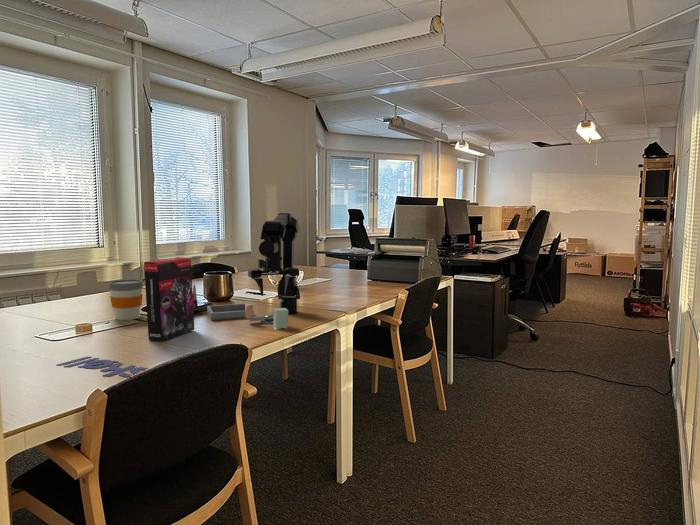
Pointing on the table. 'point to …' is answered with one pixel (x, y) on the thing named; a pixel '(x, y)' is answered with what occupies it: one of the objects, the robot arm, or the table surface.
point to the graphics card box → (169, 298)
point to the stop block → (280, 318)
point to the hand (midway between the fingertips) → (274, 294)
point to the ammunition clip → (194, 297)
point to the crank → (250, 315)
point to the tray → (226, 311)
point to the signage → (104, 363)
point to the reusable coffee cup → (126, 298)
